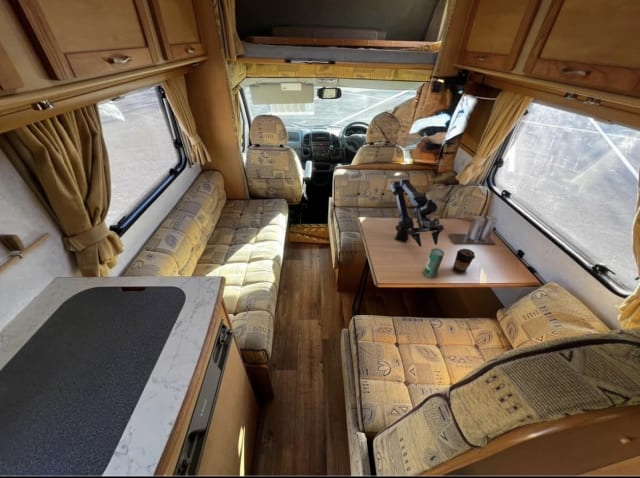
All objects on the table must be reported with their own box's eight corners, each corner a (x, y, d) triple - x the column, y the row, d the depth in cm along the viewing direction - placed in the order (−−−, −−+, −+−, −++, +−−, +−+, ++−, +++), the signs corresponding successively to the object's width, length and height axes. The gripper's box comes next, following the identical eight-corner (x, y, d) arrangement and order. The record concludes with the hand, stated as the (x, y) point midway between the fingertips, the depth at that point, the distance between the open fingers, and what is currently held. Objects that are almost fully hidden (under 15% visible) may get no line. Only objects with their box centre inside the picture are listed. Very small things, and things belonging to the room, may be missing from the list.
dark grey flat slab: (454, 244, 162) (455, 242, 162) (448, 235, 171) (448, 233, 170) (494, 244, 162) (495, 243, 162) (486, 235, 170) (487, 234, 170)
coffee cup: (466, 278, 137) (474, 259, 130) (449, 272, 141) (456, 253, 133) (468, 269, 143) (476, 250, 136) (452, 263, 147) (459, 245, 139)
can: (426, 268, 143) (433, 247, 134) (437, 273, 140) (445, 251, 132) (422, 274, 139) (429, 253, 130) (434, 279, 136) (442, 257, 127)
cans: (468, 240, 163) (476, 220, 155) (463, 235, 168) (472, 215, 160) (489, 241, 163) (499, 220, 155) (484, 235, 168) (494, 215, 159)
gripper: (414, 215, 132) (420, 245, 129) (447, 211, 135) (453, 241, 132) (404, 220, 142) (409, 248, 140) (434, 217, 146) (440, 244, 143)
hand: (428, 245), depth 138 cm, fingers open, 9 cm apart
